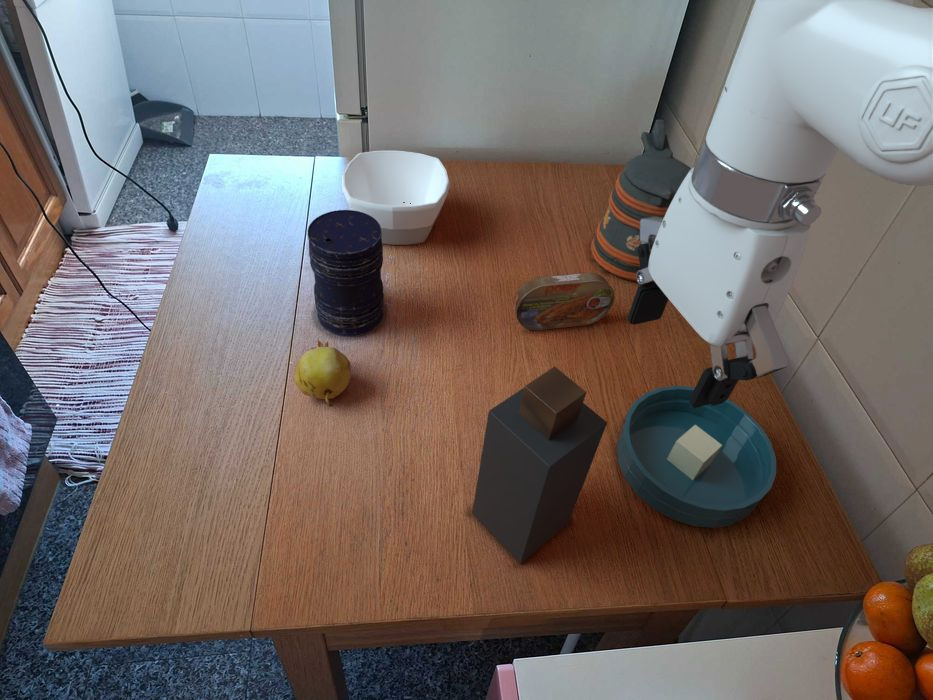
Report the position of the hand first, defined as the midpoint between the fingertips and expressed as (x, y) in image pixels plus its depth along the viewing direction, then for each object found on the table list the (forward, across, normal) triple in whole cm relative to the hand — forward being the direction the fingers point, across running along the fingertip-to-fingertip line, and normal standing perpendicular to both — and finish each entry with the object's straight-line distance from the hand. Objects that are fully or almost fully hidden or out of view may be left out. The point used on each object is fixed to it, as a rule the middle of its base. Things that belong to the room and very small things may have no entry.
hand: (673, 358), depth 54 cm
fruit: (+28, +29, +26) cm, 48 cm away
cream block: (+28, +4, -15) cm, 32 cm away
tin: (+28, +33, -10) cm, 45 cm away
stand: (+28, +4, +8) cm, 30 cm away
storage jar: (+28, +42, +19) cm, 55 cm away
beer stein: (+28, +46, -31) cm, 62 cm away
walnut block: (+9, +4, +8) cm, 13 cm away
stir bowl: (+28, +4, -15) cm, 33 cm away
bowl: (+28, +62, +7) cm, 69 cm away
